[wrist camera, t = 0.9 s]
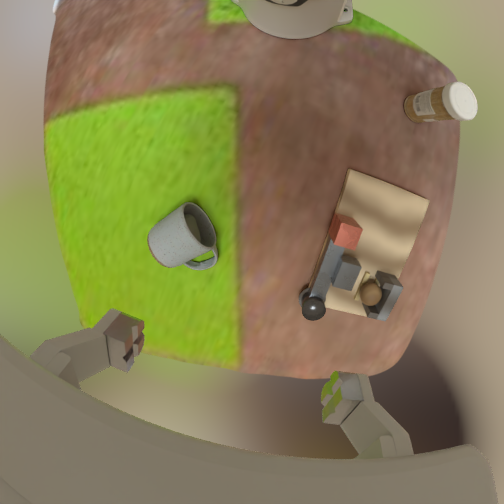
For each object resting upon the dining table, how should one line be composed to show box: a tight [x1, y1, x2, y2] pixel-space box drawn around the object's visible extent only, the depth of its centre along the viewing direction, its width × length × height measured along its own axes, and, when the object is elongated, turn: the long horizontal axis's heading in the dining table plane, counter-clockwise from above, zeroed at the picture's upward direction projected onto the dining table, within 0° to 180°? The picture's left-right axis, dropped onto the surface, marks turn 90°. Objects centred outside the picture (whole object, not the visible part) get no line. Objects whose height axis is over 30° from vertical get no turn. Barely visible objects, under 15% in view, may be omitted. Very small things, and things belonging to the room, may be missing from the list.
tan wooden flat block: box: [299, 168, 429, 321], centre depth 38 cm, size 23×15×6 cm, turn 167°
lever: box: [301, 213, 363, 321], centre depth 37 cm, size 16×6×5 cm, turn 167°
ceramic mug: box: [147, 202, 218, 270], centre depth 39 cm, size 11×8×8 cm
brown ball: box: [360, 283, 382, 306], centre depth 39 cm, size 4×4×4 cm
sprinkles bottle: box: [404, 82, 477, 123], centre depth 24 cm, size 5×5×14 cm
